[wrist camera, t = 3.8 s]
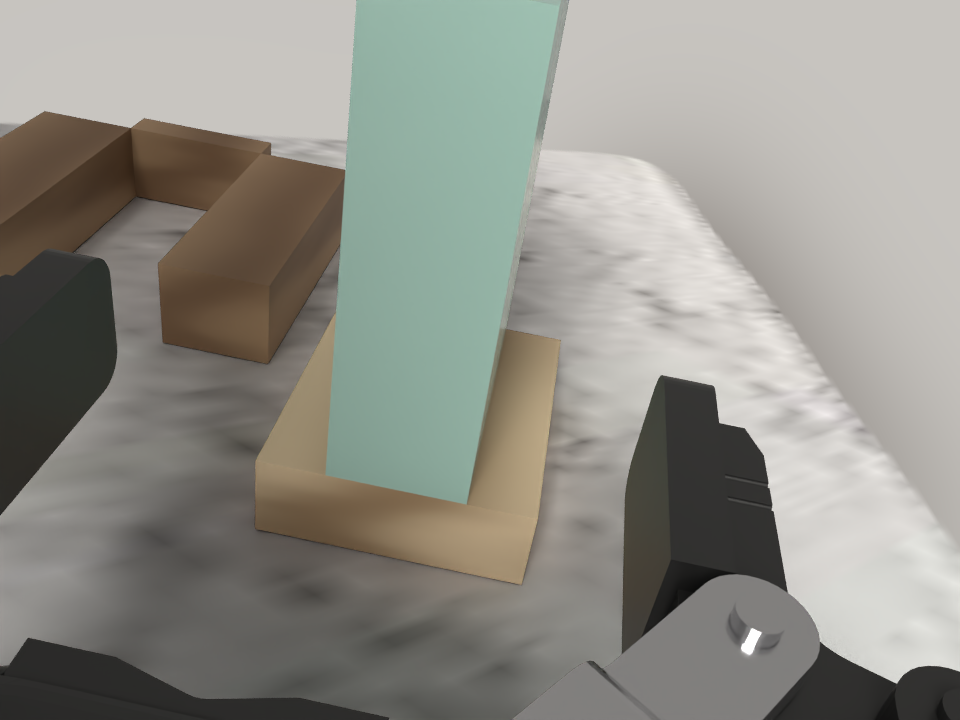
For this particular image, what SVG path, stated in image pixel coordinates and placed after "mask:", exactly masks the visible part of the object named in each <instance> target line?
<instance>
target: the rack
mask: <svg viewBox="0 0 960 720" xmlns="http://www.w3.org/2000/svg"><path fill="white" fill-rule="evenodd" d="M344 185H345V170H343V169H338V168H333V167H327V166H322V165H317V164H312V163H307V162H302V161H297V160H292V159H286V158H281V157H276V156H271V143H268V142H263V141H258V140H253V139H248V138H242V137H237V136H232V135H227V134H222V133H217V132H212V131H206V130H201V129H196V128H191V127H185V126H181V125H175V124H170V123H165V122H160V121H155V120H150V119H145V118H144V119H143V120H141V121H140V122H138V123H137V124H136V125H135V126H133V127H132V128H128V127H122V126H117V125H112V124H107V123H101V122H97V121H92V120H87V119H81V118H76V117H71V116H66V115H61V114H55V113H50V112H43V113H41V114H40V115H38V116H36V117H35V118H33V119H31V120H30V121H28V122H26V123H25V124H23V125H21V126H20V127H18V128H16V129H15V130H13V131H11V132H10V133H8V134H6V135H5V136H3V137H1V138H0V276H3V275H5V274H7V275H11V276H14V275H15V274H16V273H17V272H18V271H20V270H21V269H22V268H23V267H24V266H26V265H27V264H28V263H29V262H30V261H31V260H33V259H34V258H35V257H36V256H37V255H39V254H40V253H41V252H42V251H44V250H46V249H56V250H61V251H66V252H70V253H72V252H73V251H75V250H76V249H77V248H78V247H79V246H80V245H81V244H83V243H84V242H85V241H86V240H87V239H88V238H89V237H90V236H92V235H93V234H94V233H95V232H96V231H97V230H98V229H100V228H101V227H102V226H103V225H104V224H105V223H106V222H107V221H109V220H110V219H111V218H112V217H113V216H114V215H115V214H116V213H118V212H119V211H120V210H121V209H122V208H123V207H124V206H126V205H127V204H128V203H129V202H130V201H131V200H132V199H133V198H135V197H136V196H137V197H142V198H147V199H152V200H157V201H162V202H167V203H172V204H177V205H182V206H187V207H192V208H197V209H203V210H208V211H207V212H206V213H205V214H204V215H203V216H202V217H201V218H200V219H199V220H198V221H197V222H196V224H195V225H194V226H193V227H192V228H191V229H190V230H189V231H188V232H187V233H186V234H185V235H184V236H183V237H182V238H181V240H180V241H179V242H178V243H177V244H176V245H175V246H174V247H173V248H172V249H171V250H170V251H169V252H168V253H167V254H166V256H165V257H164V258H163V259H162V260H161V261H160V262H159V263H158V274H159V290H160V306H161V322H162V338H163V343H168V344H173V345H178V346H182V347H187V348H192V349H197V350H202V351H207V352H212V353H217V354H222V355H227V356H232V357H236V358H241V359H246V360H251V361H256V362H261V363H266V364H268V363H269V361H270V360H271V358H272V356H273V355H274V353H275V351H276V350H277V348H278V347H279V345H280V343H281V342H282V340H283V338H284V337H285V335H286V333H287V332H288V330H289V328H290V327H291V325H292V323H293V322H294V320H295V318H296V317H297V315H298V313H299V312H300V310H301V308H302V307H303V305H304V303H305V302H306V300H307V298H308V297H309V295H310V293H311V292H312V290H313V288H314V287H315V285H316V284H317V282H318V280H319V279H320V277H321V275H322V274H323V272H324V270H325V269H326V267H327V265H328V264H329V262H330V260H331V259H332V257H333V255H334V254H335V252H336V250H337V249H338V247H339V245H340V244H341V231H342V215H343V200H344Z"/></svg>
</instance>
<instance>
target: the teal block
mask: <svg viewBox="0 0 960 720" xmlns="http://www.w3.org/2000/svg"><path fill="white" fill-rule="evenodd" d="M568 3H569V0H357V2H356V18H355V33H354V48H353V63H352V78H351V94H350V109H349V124H348V139H347V154H346V170H345V185H344V200H343V215H342V231H341V246H340V261H339V276H338V292H337V307H336V322H335V337H334V353H333V368H332V383H331V398H330V414H329V429H328V444H327V459H326V475H327V476H332V477H336V478H341V479H346V480H351V481H356V482H360V483H365V484H370V485H375V486H380V487H385V488H389V489H394V490H399V491H404V492H409V493H413V494H418V495H423V496H428V497H433V498H438V499H442V500H447V501H452V502H457V503H462V504H466V505H467V501H468V496H469V492H470V487H471V483H472V479H473V474H474V470H475V465H476V461H477V456H478V452H479V447H480V443H481V439H482V434H483V430H484V425H485V421H486V416H487V412H488V407H489V403H490V399H491V394H492V390H493V385H494V381H495V376H496V372H497V368H498V363H499V359H500V354H501V350H502V345H503V341H504V336H505V332H506V327H507V322H508V317H509V312H510V306H511V301H512V296H513V291H514V286H515V280H516V275H517V270H518V265H519V259H520V254H521V249H522V244H523V239H524V233H525V228H526V223H527V218H528V213H529V207H530V202H531V197H532V192H533V186H534V181H535V176H536V171H537V166H538V160H539V155H540V150H541V145H542V139H543V134H544V129H545V124H546V118H547V113H548V108H549V103H550V97H551V93H552V87H553V82H554V77H555V71H556V66H557V61H558V56H559V51H560V45H561V40H562V35H563V30H564V25H565V20H566V14H567V9H568Z"/></svg>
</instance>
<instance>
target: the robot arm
mask: <svg viewBox="0 0 960 720" xmlns="http://www.w3.org/2000/svg"><path fill="white" fill-rule="evenodd" d="M116 359H117V342H116V332H115V321H114V311H113V300H112V290H111V279H110V272H109V268H108V266H107V264H106V262H105V261H104V260H102V259H100V258H95V257H90V256H85V255H80V254H75V253H70V252H66V251H61V250H56V249H46V250H44V251H42V252H41V253H40V254H39V255H37V256H36V257H35V258H34V259H33V260H31V261H30V262H29V263H28V264H27V265H26V266H24V267H23V268H22V269H21V270H20V271H18V272H17V273H16V274H15V275H14V276H11V275H7V274H5V275H3V276H0V515H1V514H2V513H3V512H4V510H5V509H6V508H7V507H8V506H9V504H10V503H11V502H12V501H13V500H14V498H15V497H16V496H17V495H18V494H19V492H20V491H21V490H22V489H23V488H24V486H25V485H26V484H27V483H28V482H29V480H30V479H31V478H32V477H33V476H34V475H35V473H36V472H37V471H38V470H39V469H40V467H41V466H42V465H43V464H44V463H45V461H46V460H47V459H48V458H49V457H50V455H51V454H52V453H53V452H54V451H55V449H56V448H57V447H58V446H59V445H60V443H61V442H62V441H63V440H64V439H65V437H66V436H67V435H68V434H69V433H70V431H71V430H72V429H73V428H74V427H75V426H76V424H77V423H78V422H79V421H80V420H81V418H82V417H83V416H84V415H85V414H86V412H87V411H88V410H89V409H90V408H91V406H92V405H93V404H94V403H95V402H96V400H97V399H98V398H99V397H100V396H101V394H102V393H103V392H104V391H105V389H106V388H107V386H108V385H109V383H110V380H111V378H112V376H113V373H114V369H115V365H116ZM771 509H772V500H771V494H770V489H769V488H768V477H767V472H766V466H765V460H764V455H763V454H762V452H761V451H760V450H759V448H758V447H757V445H756V444H755V443H754V441H753V440H752V438H751V437H750V435H749V434H748V433H747V431H746V430H745V428H740V427H735V426H730V425H725V424H720V423H719V418H718V410H717V401H716V393H715V388H714V386H712V385H707V384H702V383H697V382H692V381H688V380H683V379H678V378H673V377H668V376H663V375H661V376H660V378H659V379H658V381H657V384H656V386H655V389H654V392H653V395H652V398H651V402H650V405H649V408H648V411H647V414H646V417H645V420H644V423H643V427H642V430H641V433H640V436H639V439H638V442H637V445H636V449H635V452H634V455H633V458H632V462H631V465H630V470H629V475H628V480H627V486H626V493H625V518H624V567H623V616H622V655H621V656H619V657H618V658H617V659H616V660H615V661H613V662H612V663H611V664H610V665H608V666H607V667H605V668H603V669H602V668H600V667H599V666H598V665H597V664H596V663H595V662H594V661H587V662H584V663H582V664H580V665H579V666H577V667H576V668H574V669H573V670H572V671H570V672H569V673H568V674H566V675H565V676H564V677H563V678H562V679H560V680H559V681H558V682H557V683H555V684H554V685H553V686H552V687H551V688H549V689H548V690H547V691H546V692H545V693H543V694H542V695H541V696H540V697H538V698H537V699H536V700H535V701H534V702H532V703H531V704H530V705H529V706H527V707H526V708H525V709H524V710H523V711H521V712H520V713H519V714H518V715H517V716H515V717H514V718H513V719H512V720H960V672H959V671H956V670H953V669H949V668H944V667H939V666H924V667H918V668H915V669H912V670H910V671H908V672H907V673H905V674H904V675H903V676H902V678H901V679H900V680H899V681H898V683H897V684H896V683H894V682H892V681H890V680H888V679H886V678H883V677H881V676H879V675H877V674H875V673H873V672H871V671H869V670H867V669H865V668H863V667H861V666H859V665H856V664H854V663H852V662H850V661H848V660H847V659H845V658H843V657H841V656H839V655H837V654H836V653H834V652H833V651H831V650H830V649H828V648H827V647H826V646H825V645H823V644H822V643H821V642H820V640H819V634H818V631H817V628H816V625H815V623H814V622H813V620H812V618H811V616H810V615H809V614H808V612H807V611H806V610H805V608H804V607H803V606H802V605H801V604H800V603H799V602H798V601H797V600H796V599H795V598H793V597H792V596H791V595H790V594H788V592H787V586H786V580H785V574H784V569H783V563H782V557H781V552H780V546H779V540H778V534H777V529H776V523H775V517H774V512H773V511H771ZM0 720H389V718H388V717H383V716H379V715H374V714H370V713H365V712H361V711H356V710H352V709H347V708H342V707H338V706H333V705H329V704H324V703H320V702H315V701H311V700H306V699H302V698H254V699H200V698H196V697H193V696H190V695H188V694H186V693H184V692H182V691H180V690H178V689H176V688H174V687H172V686H170V685H169V684H167V683H165V682H163V681H161V680H159V679H157V678H155V677H153V676H151V675H149V674H147V673H145V672H143V671H141V670H139V669H138V668H136V667H134V666H132V665H130V664H128V663H126V662H124V661H122V660H120V659H118V658H116V657H112V656H108V655H103V654H99V653H94V652H90V651H85V650H81V649H76V648H72V647H67V646H63V645H58V644H54V643H49V642H45V641H40V640H36V639H31V638H28V639H27V640H26V642H25V643H24V644H23V646H22V647H21V649H20V650H19V652H18V653H17V655H16V656H15V658H14V659H13V660H12V662H11V663H10V665H9V666H0Z"/></svg>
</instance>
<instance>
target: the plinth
mask: <svg viewBox="0 0 960 720" xmlns="http://www.w3.org/2000/svg"><path fill="white" fill-rule="evenodd" d="M335 322H336V312H335V314H334V316H333V318H332V319H331V321H330V323H329V325H328V327H327V329H326V331H325V332H324V334H323V336H322V338H321V340H320V342H319V344H318V345H317V347H316V349H315V351H314V353H313V355H312V357H311V358H310V360H309V362H308V364H307V366H306V368H305V370H304V371H303V373H302V375H301V377H300V379H299V381H298V383H297V384H296V386H295V388H294V390H293V392H292V394H291V396H290V397H289V399H288V401H287V403H286V405H285V407H284V409H283V410H282V412H281V414H280V416H279V418H278V420H277V422H276V423H275V425H274V427H273V429H272V431H271V433H270V435H269V436H268V438H267V440H266V442H265V444H264V446H263V448H262V450H261V451H260V453H259V455H258V457H257V459H256V461H255V529H258V530H263V531H268V532H272V533H277V534H282V535H287V536H291V537H296V538H301V539H306V540H310V541H315V542H320V543H325V544H330V545H334V546H339V547H344V548H349V549H353V550H358V551H363V552H368V553H372V554H377V555H382V556H387V557H391V558H396V559H401V560H406V561H410V562H415V563H420V564H425V565H429V566H434V567H439V568H444V569H448V570H453V571H458V572H463V573H467V574H472V575H477V576H482V577H486V578H491V579H496V580H501V581H505V582H510V583H515V584H520V585H522V581H523V577H524V573H525V569H526V565H527V561H528V557H529V553H530V549H531V545H532V541H533V537H534V533H535V529H536V525H537V521H538V514H539V506H540V498H541V491H542V483H543V475H544V467H545V459H546V451H547V444H548V436H549V428H550V420H551V412H552V405H553V397H554V389H555V381H556V373H557V365H558V358H559V350H560V342H561V340H558V339H553V338H548V337H543V336H538V335H533V334H528V333H523V332H518V331H513V330H508V329H506V332H505V336H504V341H503V345H502V350H501V354H500V359H499V363H498V368H497V372H496V376H495V381H494V385H493V390H492V394H491V399H490V403H489V407H488V412H487V416H486V421H485V425H484V430H483V434H482V439H481V443H480V447H479V452H478V456H477V461H476V465H475V470H474V474H473V479H472V483H471V487H470V492H469V496H468V501H467V505H466V504H462V503H457V502H452V501H447V500H442V499H438V498H433V497H428V496H423V495H418V494H413V493H409V492H404V491H399V490H394V489H389V488H385V487H380V486H375V485H370V484H365V483H360V482H356V481H351V480H346V479H341V478H336V477H332V476H327V475H326V459H327V444H328V429H329V414H330V398H331V383H332V368H333V353H334V337H335Z"/></svg>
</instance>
